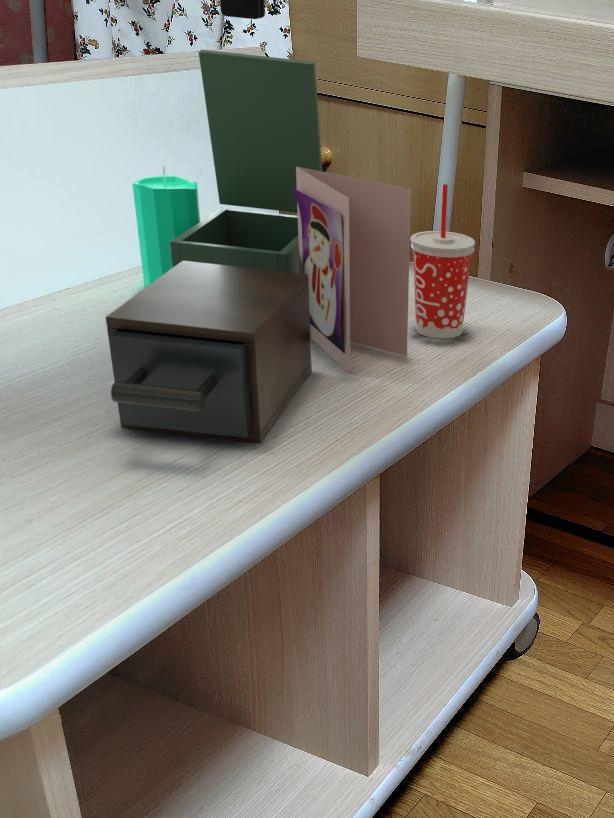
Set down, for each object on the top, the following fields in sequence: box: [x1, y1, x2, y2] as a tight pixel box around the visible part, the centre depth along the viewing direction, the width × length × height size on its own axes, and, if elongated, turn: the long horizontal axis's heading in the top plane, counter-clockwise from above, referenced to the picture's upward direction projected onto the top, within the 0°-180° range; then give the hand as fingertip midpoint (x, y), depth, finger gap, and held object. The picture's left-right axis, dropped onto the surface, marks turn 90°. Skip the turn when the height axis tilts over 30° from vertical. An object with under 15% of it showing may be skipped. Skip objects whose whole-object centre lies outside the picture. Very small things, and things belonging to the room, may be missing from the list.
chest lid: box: [198, 49, 323, 214], centre depth 95 cm, size 14×11×1 cm
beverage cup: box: [410, 183, 476, 340], centre depth 94 cm, size 6×6×14 cm
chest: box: [170, 207, 300, 274], centre depth 97 cm, size 14×11×8 cm
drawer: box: [107, 331, 252, 438], centre depth 75 cm, size 18×9×7 cm, turn 176°
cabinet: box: [105, 261, 312, 444], centre depth 78 cm, size 15×11×9 cm
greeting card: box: [292, 167, 412, 374], centre depth 88 cm, size 11×7×15 cm, turn 33°
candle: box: [131, 165, 201, 289], centre depth 99 cm, size 6×6×12 cm
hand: (243, 16), depth 82 cm, fingers closed
